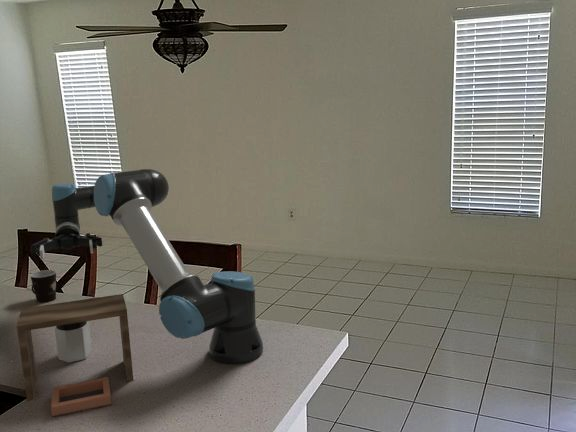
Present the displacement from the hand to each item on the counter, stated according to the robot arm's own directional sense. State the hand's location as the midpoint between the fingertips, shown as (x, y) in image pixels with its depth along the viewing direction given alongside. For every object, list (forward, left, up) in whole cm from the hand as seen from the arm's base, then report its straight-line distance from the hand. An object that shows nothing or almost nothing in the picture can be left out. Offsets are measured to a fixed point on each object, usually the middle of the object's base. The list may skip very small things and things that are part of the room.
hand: (66, 252), depth 159 cm
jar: (-1, +10, -28) cm, 30 cm away
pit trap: (-7, +36, -28) cm, 46 cm away
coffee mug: (+19, -39, -28) cm, 52 cm away
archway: (-5, +25, -28) cm, 38 cm away
